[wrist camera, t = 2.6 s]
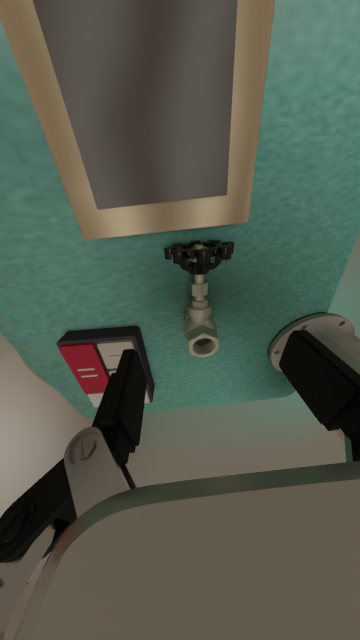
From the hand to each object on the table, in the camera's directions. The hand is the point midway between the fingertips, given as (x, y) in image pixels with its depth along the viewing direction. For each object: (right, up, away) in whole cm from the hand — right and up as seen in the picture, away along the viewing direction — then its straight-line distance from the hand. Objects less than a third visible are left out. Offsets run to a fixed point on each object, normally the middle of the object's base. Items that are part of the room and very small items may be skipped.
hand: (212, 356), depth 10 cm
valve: (0, +6, +11) cm, 13 cm away
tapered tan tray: (-4, +18, +3) cm, 19 cm away
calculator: (-13, -5, +18) cm, 23 cm away
